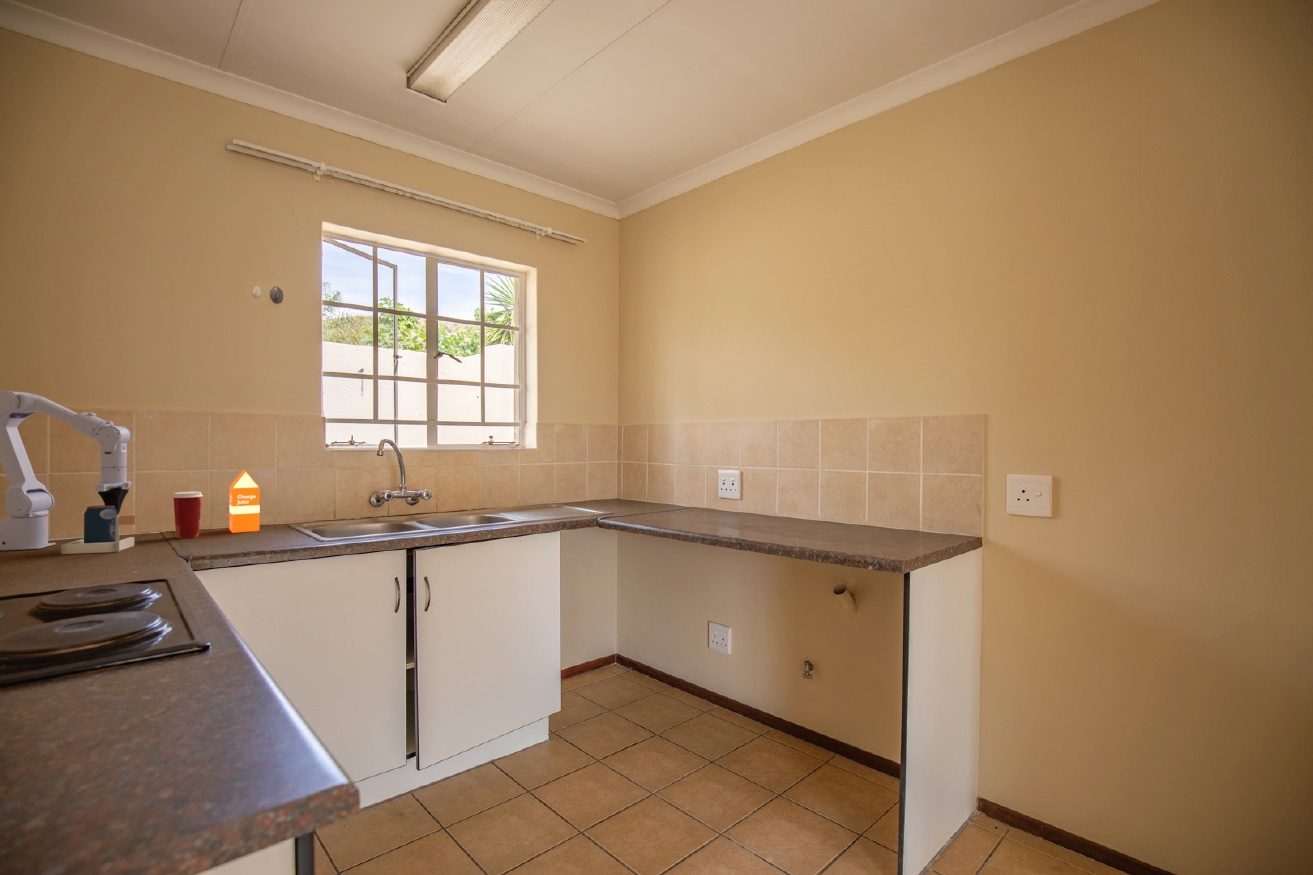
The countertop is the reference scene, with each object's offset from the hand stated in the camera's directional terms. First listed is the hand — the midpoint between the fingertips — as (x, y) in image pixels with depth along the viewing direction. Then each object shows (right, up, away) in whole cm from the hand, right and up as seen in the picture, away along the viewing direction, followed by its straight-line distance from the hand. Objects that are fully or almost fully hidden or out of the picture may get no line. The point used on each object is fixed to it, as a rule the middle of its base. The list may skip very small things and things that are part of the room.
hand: (113, 514), depth 180 cm
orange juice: (+18, -9, +30) cm, 36 cm away
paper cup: (+10, -9, +15) cm, 20 cm away
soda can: (+2, -9, -7) cm, 11 cm away
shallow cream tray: (+5, -9, -7) cm, 12 cm away
